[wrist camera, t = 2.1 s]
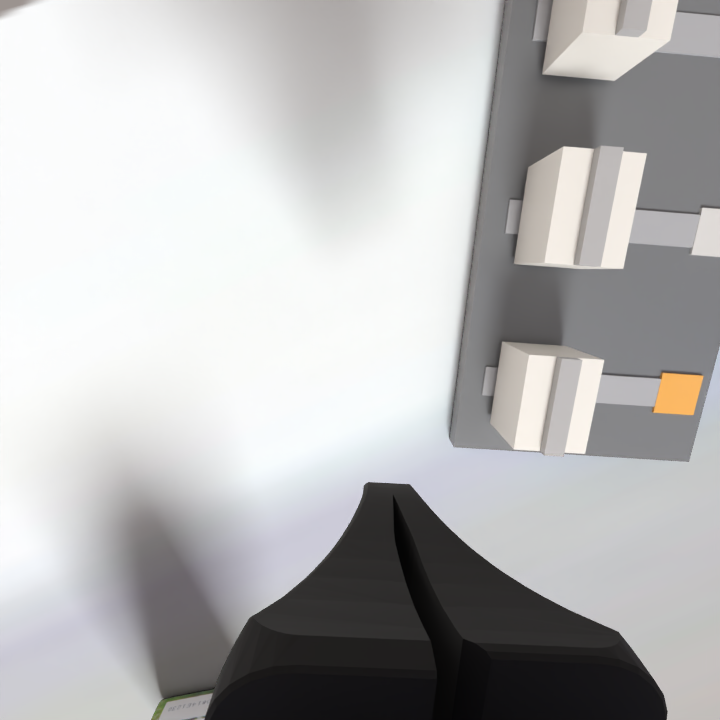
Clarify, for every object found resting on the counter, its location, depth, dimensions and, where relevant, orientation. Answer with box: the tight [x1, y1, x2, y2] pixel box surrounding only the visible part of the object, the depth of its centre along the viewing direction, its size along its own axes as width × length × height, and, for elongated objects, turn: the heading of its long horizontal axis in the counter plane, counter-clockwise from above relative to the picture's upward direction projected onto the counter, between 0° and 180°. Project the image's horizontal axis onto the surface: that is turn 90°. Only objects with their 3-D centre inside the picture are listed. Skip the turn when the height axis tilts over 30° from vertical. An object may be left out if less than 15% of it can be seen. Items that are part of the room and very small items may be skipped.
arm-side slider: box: [490, 342, 604, 457], centre depth 18 cm, size 3×4×3 cm
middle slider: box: [514, 146, 647, 269], centre depth 16 cm, size 3×4×3 cm
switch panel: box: [449, 0, 720, 462], centre depth 19 cm, size 12×22×1 cm, turn 176°
